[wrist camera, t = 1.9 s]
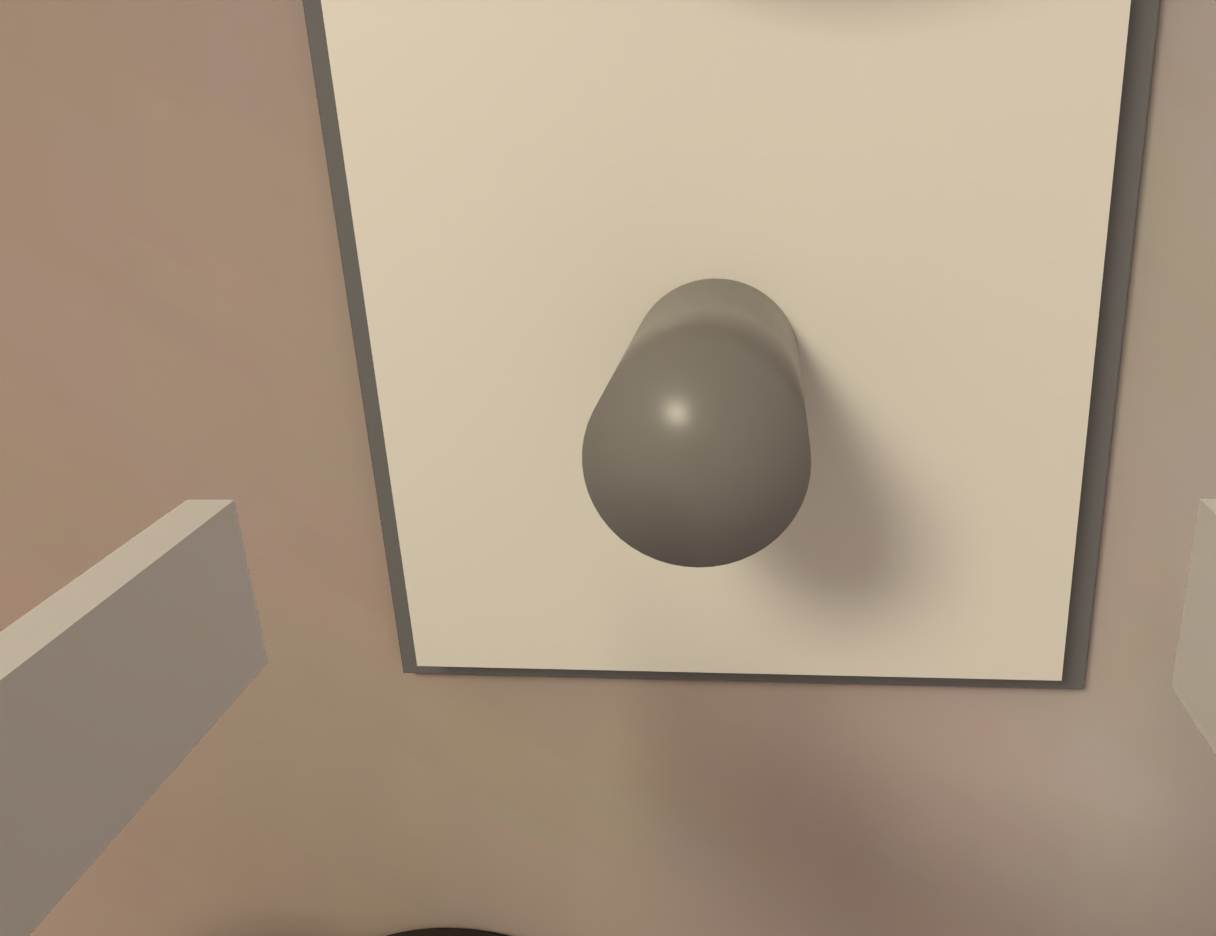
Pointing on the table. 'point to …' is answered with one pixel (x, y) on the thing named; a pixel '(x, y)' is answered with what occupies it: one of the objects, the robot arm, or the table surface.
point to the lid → (733, 323)
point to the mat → (1099, 410)
